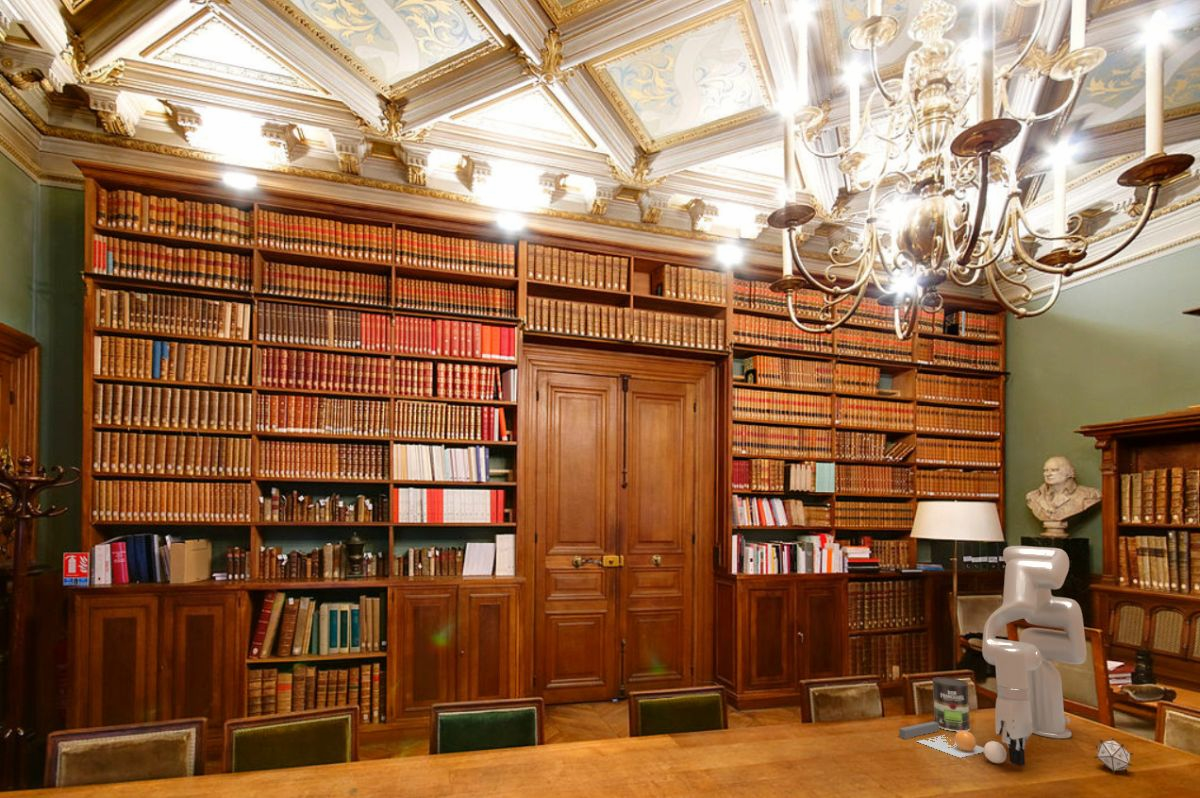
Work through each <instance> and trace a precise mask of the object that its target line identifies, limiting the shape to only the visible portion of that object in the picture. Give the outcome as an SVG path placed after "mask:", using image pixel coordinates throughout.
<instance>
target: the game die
mask: <svg viewBox="0 0 1200 798" xmlns="http://www.w3.org/2000/svg"><path fill="white" fill-rule="evenodd" d="M1099 742H1100V744H1099V745H1097V744H1096V745H1094V746H1095V748H1097V751H1096V752H1097V753H1096V755H1094V756H1093V758H1094V759H1098V760H1099V761H1100V762H1101V763H1102V764H1103V765H1102V767H1103V766H1105V767H1107V768H1108V769H1110V770H1111V771H1112V774H1113V773H1114V774H1113V775H1115V774H1116V772H1118V771H1123V770H1124V772H1126V773H1127V772H1128V770H1127V768H1128V767H1129V766H1131V767H1133V766H1134V765H1133V763H1131V756H1134V753H1133V752H1129V751H1128V750H1127V749H1126V748H1125V747H1124V746H1125V744H1124V743H1122V744H1120V743H1119V742H1117V741H1115V738H1114V737H1111V740H1106V741H1105V740H1104V741H1103V740H1102V738H1099Z"/></svg>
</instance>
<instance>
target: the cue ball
mask: <svg viewBox="0 0 1200 798" xmlns="http://www.w3.org/2000/svg"><path fill="white" fill-rule="evenodd" d="M983 748H984V752H983V753H984V755H985V757H986V759H988V760H989V761H990V762H992V763H994V764H1002V763H1004V762H1005V761H1006V760H1007V756H1008V755H1007V754H1008V753H1007V750H1006V748H1005V747H1004V746H1003V744H1001V742H998V741H993V740H990V741H988V742H986V743H985V745H984V747H983Z"/></svg>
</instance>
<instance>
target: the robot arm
mask: <svg viewBox="0 0 1200 798" xmlns="http://www.w3.org/2000/svg"><path fill="white" fill-rule="evenodd" d="M1002 555H1003V560H1004V563H1005V564H1006V565H1005V567H1004V569H1005V570H1004V580H1003V581H1004V584H1003V595H1002V596H1003V601H1002V605H1001V606H1000V607H998V608H997V609H996V610H994V612H992V613H991V614H990V616H989V617H988V619H987V620H986V621H985V624H984V626H983V633H982V648H981V650H982V651H981V652H982V657H983V658H984V660H985V662H986V663H988V664H989V665H992V666H995V677H996V678H995V679H996V694H997V695H996V696H997V697H996V700H995V710H994V711H995V713H994V714H995V717H994V724H995V725H994V726H995V733H996V735H998V736H1001V742H1002V743H1003V744H1006V745H1007V748H1008V752H1009V753H1008V754H1009V762H1010V763H1011V764H1013V765H1016V766H1019V767H1022V766H1025V765H1026V759H1025V758H1026V757H1025V749H1026V741H1028V740H1029V739H1030V736H1031V735H1032V734H1034V735H1037V736H1041V737H1045V738H1052V739H1069V738H1071V737H1072V731H1071V730H1070V729H1068V728H1067V727H1066V724H1069V723H1071V718H1070V717H1069V716H1067V715H1066V716H1065V712H1064V710H1065V709H1064V695H1063V684H1062V683H1063V681H1062V676H1061V674H1060V672H1059V670H1058V668H1056V666H1055V665H1054V664H1053V663H1052V662H1055V663H1064V664H1070V665H1082V664H1084V663H1085V662H1086V661H1087V643H1086V636H1085V634H1086V633H1085V627H1084V617H1083V613H1082V608H1081V606H1080V604H1079V603H1078V602H1077V601H1076V600H1075V599H1072V598H1068V597H1061V596H1054V595H1052V590H1058V589H1060V588H1062V586H1063V585H1064V582H1065V580H1066V577H1067V575H1068V572H1069V571H1070V569H1069V568H1070V559H1069V556H1068V554H1067V552H1066V551H1065V550H1063V549H1062V548H1057V547H1043V546H1030V545H1029V546H1028V545H1011V546H1007V547H1005V548H1004V549H1003V553H1002ZM1021 619H1022V620H1023V619H1024V620H1025V621H1026V622H1027V623H1028V624H1031V625H1035V626H1039V627H1028V628H1025V629H1023V630H1022V631H1021V633H1020V637H1019V638H1020V639H1019V641H1017V640H1016V641H1015V640H1011V639H1010V640H1009V639H1003V638H996V637H997V633H998V631H999V630H1000V628H1002V627H1004V626H1005V625H1008V624H1009V623H1011V622H1015V621H1018V620H1019V621H1020V620H1021ZM1042 627H1048V628H1042ZM1051 628H1056V630H1055V629H1051ZM1057 629H1063V630H1064V631H1063V630H1057Z"/></svg>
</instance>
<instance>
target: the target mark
mask: <svg viewBox="0 0 1200 798" xmlns="http://www.w3.org/2000/svg"><path fill="white" fill-rule="evenodd" d="M945 735H946V734H943V735H938V736H934V737H929V738H927V739H929V740H928V741H927V740H925V739H926V738H925V739H920V740H916V741H915V743H917V742H919V743H918V744H920V743H921V745H923V744H924V745H923V746H925V745H927V746H926V747H928V746H929V747H928V748H931V747H932V748H931V749H933V748H934V750H936V749H937V750H936V751H939V750H940V751H939V752H941V751H942V753H944V752H945V754H947V753H948V754H947V755H949V754H950V756H952V755H953V756H952V757H955V756H956V757H955V758H958V757H959V758H958V759H963V758H966V756H967V757H971V756H975V755H978V753H979V754H981V753H982V752H983V753H984V747H983V746H980V745H977V744H976V747H975V748H974V750H972V751H969V752H968V751H963V750H960V748H959V747H957V745H956V743H955V744H954V745H953V746H954V747H953V746H951V745H948V742H947V743H946V742H943V741H947V740H946V739H941V738H946V737H943V736H945ZM941 736H942V737H941ZM936 737H938V738H936ZM931 738H935V739H931ZM947 738H948V737H947ZM936 739H937V740H936ZM930 740H933V741H935V742H932V741H930ZM950 741H951V740H950ZM955 745H956V746H955ZM948 747H950V748H948ZM951 747H953V748H951ZM983 753H982V754H983ZM974 754H975V755H974ZM962 757H963V758H962Z"/></svg>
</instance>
